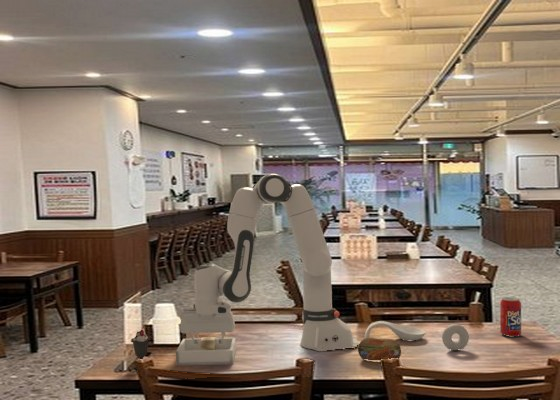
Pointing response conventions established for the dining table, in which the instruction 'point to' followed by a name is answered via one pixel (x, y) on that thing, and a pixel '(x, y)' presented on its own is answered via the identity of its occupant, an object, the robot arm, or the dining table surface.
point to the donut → (452, 330)
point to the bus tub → (205, 353)
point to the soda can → (510, 316)
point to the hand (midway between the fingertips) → (208, 343)
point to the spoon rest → (398, 330)
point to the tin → (379, 349)
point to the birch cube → (208, 343)
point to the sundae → (140, 344)
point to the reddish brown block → (194, 335)
